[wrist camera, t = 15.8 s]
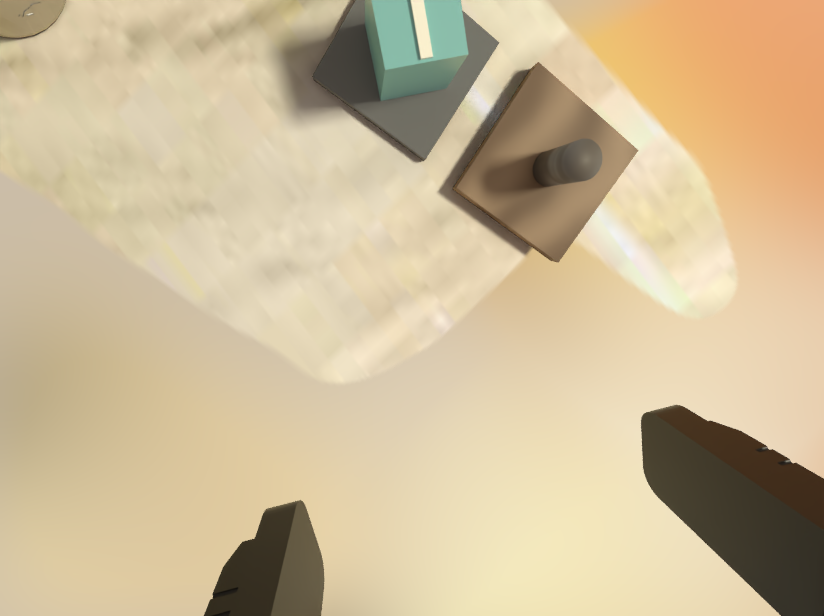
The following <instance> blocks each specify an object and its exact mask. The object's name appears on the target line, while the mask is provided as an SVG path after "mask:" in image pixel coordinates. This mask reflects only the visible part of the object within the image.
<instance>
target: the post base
mask: <svg viewBox="0 0 824 616" xmlns="http://www.w3.org/2000/svg"><path fill="white" fill-rule="evenodd" d="M637 152H638V150H637V149H636V148H635V147H634V146H633V145H632V144H631V143H629V142H628V141H627V140H626V139H625V138H624V137H623V136H622V135H620V134H619V133H618V132H617V131H616V130H615V129H614V128H612V127H611V126H610V125H609V124H608V123H607V122H606V121H605V120H603V119H602V118H601V117H600V116H599V115H598V114H597V113H596V112H594V111H593V110H592V109H591V108H590V107H589V106H588V105H586V104H585V103H584V102H583V101H582V100H581V99H580V98H579V97H577V96H576V95H575V94H574V93H573V92H572V91H571V90H569V89H568V88H567V87H566V86H565V85H564V84H563V83H562V82H560V81H559V80H558V79H557V78H556V77H555V76H554V75H553V74H551V73H550V72H549V71H548V70H547V69H546V68H545V67H543V66H542V65H541V64H540V63H539V62H538V63H537V64H535V65H534V66H533V67H532V68H531V69H530V71H529V72H528V74H527V75H526V77H525V78H524V80H523V81H522V83H521V84H520V86H519V87H518V89H517V91H516V92H515V94H514V95H513V97H512V98H511V100H510V101H509V103H508V104H507V106H506V107H505V109H504V111H503V112H502V114H501V115H500V117H499V118H498V120H497V121H496V123H495V124H494V126H493V127H492V129H491V130H490V132H489V134H488V135H487V137H486V138H485V140H484V141H483V143H482V144H481V146H480V147H479V149H478V150H477V152H476V154H475V155H474V157H473V158H472V160H471V161H470V163H469V164H468V166H467V167H466V169H465V170H464V172H463V174H462V175H461V177H460V178H459V180H458V181H457V183H456V184H455V186H454V187H453V190H455V191H456V192H457V193H459V194H460V195H462V196H463V197H464V198H466V199H467V200H468V201H470V202H471V203H472V204H474V205H475V206H477V207H478V208H479V209H481V210H482V211H483V212H485V213H486V214H488V215H489V216H490V217H492V218H493V219H494V220H496V221H497V222H498V223H500V224H501V225H503V226H504V227H505V228H507V229H508V230H509V231H511V232H512V233H514V234H515V235H516V236H518V237H519V238H520V239H522V240H523V241H524V242H526V243H527V244H529V245H530V246H531V247H533V248H534V249H536V250H537V251H539V252H540V253H541V254H542V255H544V256H545V257H547V258H548V259H549V260H551V261H555V262H559V261H560V259H561V258H562V257H563V255H564V254H565V252H566V251H567V249H568V248H569V247H570V245H571V244H572V243H573V241H574V240H575V238H576V237H577V236H578V234H579V233H580V231H581V230H582V229H583V227H584V226H585V224H586V223H587V222H588V220H589V219H590V217H591V216H592V215H593V213H594V212H595V210H596V209H597V208H598V206H599V205H600V203H601V202H602V201H603V199H604V198H605V196H606V195H607V194H608V192H609V191H610V189H611V188H612V187H613V185H614V184H615V182H616V181H617V180H618V178H619V177H620V175H621V174H622V173H623V171H624V170H625V168H626V167H627V166H628V164H629V163H630V161H631V160H632V159H633V157H634V156H635V154H636V153H637Z"/></svg>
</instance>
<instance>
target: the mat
mask: <svg viewBox="0 0 824 616" xmlns="http://www.w3.org/2000/svg"><path fill="white" fill-rule="evenodd" d="M462 13H463V20H464V27H465V34H466V41H467V48H468V56H467V57H466V59H465V60H464V62H463V64H462V65H461V67H460V68H459V70H458V71H457V73H456V74H455V76H454V77H453V79H452V80H451V82H450V83H449V85H448V87H447V88H446V89H441V90H436V91H430V92H425V93H420V94H415V95H410V96H404V97H399V98H394V99H389V100H384V101H380V96H379V91H378V86H377V81H376V76H375V71H374V66H373V61H372V56H371V52H370V47H369V42H368V37H367V32H366V27H365V0H355V2H354V4H353V6H352V7H351V9H350V11H349V13H348V14H347V16H346V18H345V20H344V22H343V23H342V25H341V27H340V29H339V30H338V32H337V34H336V36H335V37H334V39H333V41H332V43H331V44H330V46H329V48H328V50H327V51H326V53H325V55H324V57H323V59H322V60H321V62H320V64H319V66H318V67H317V69H316V71H315V73H314V74H313V76H312V77H313V79H314V80H315V81H316V82H317V83H319V84H320V85H322V86H323V87H324V88H326V89H327V90H328V91H330V92H331V93H332V94H334V95H335V96H336V97H338V98H339V99H341V100H342V101H343V102H345V103H346V104H347V105H349V106H350V107H351V108H353V109H354V110H355V111H357V112H358V113H360V114H361V115H362V116H364V117H365V118H366V119H368V120H369V121H370V122H372V123H373V124H375V125H376V126H377V127H379V128H380V129H381V130H383V131H384V132H385V133H387V134H388V135H389V136H391V137H392V138H394V139H395V140H396V141H398V142H399V143H400V144H402V145H403V146H404V147H406V148H407V149H409V150H410V151H411V152H413V153H414V154H415V155H417V156H418V157H419V158H421V159H422V160H423V161H424V160H425V159H426V158H427V156H428V155H429V153H430V151H431V150H432V148H433V147H434V145H435V144H436V142H437V140H438V139H439V137H440V136H441V134H442V132H443V131H444V129H445V128H446V126H447V125H448V123H449V121H450V120H451V118H452V117H453V115H454V113H455V112H456V110H457V109H458V107H459V106H460V104H461V102H462V101H463V99H464V98H465V96H466V94H467V93H468V91H469V90H470V88H471V87H472V85H473V83H474V82H475V80H476V79H477V77H478V75H479V74H480V72H481V71H482V69H483V68H484V66H485V64H486V63H487V61H488V60H489V58H490V56H491V55H492V53H493V52H494V50H495V49H496V47H497V45H498V44H499V42H498V41H497V40H496V39H494V38H493V37H492V36H491V35H490V34H489V33H488V32H486V31H485V30H484V29H483V28H482V27H481V26H479V25H478V24H477V23H476V22H475V21H474V20H473V19H471V18H470V17H469V16H468V15H467V14H466V13H465V12H463V11H462Z"/></svg>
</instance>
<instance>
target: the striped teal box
mask: <svg viewBox="0 0 824 616" xmlns="http://www.w3.org/2000/svg"><path fill="white" fill-rule="evenodd" d="M365 27H366V32H367V37H368V42H369V47H370V52H371V56H372V61H373V66H374V71H375V76H376V81H377V86H378V91H379V96H380V101H384V100H389V99H394V98H399V97H404V96H410V95H415V94H420V93H425V92H430V91H436V90H441V89H446V88H447V87H448V85H449V83H450V82H451V80H452V79H453V77H454V76H455V74H456V73H457V71H458V70H459V68H460V67H461V65H462V64H463V62H464V60H465V59H466V57H467V56H468V48H467V41H466V34H465V27H464V20H463V13H462V6H461V0H365Z"/></svg>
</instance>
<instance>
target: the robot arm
mask: <svg viewBox="0 0 824 616" xmlns="http://www.w3.org/2000/svg"><path fill="white" fill-rule="evenodd" d="M65 1H66V0H0V36H3V37H13V38H22V37H27V36H31V35H35V34H37V33H39V32H41V31H43V30H45V29H47V28H48V27H49V26H50V25H51V24H52V23H53V22H54V21H56V19H57V18H58V16H59V15H60V13H61V11H62V10H63V8H64V5H65ZM641 429H642V430H641V431H642V451H643V469H644V474H645V477H646V479H647V482H648V484H649V485H650V487H651V489H652V490H653V492H654V493H655V494H656V495H657V496H658V498H660V500H661V501H663V502H664V503H665V504H666V505H667V506H668V507H669V508H670V509H671V510H672V511H673V512H674V513H675V514H676V515H677V516H678V517H679V518H680V519H681V520H682V521H684V523H685V524H687V526H689V527H690V528H691V529H692V530H693V531H694V532H695V533H696V534H697V535H698V536H699V537H700V538H701V539H702V540H703V541H704V542H705V543H706V544H707V545H708V546H709V547H710V548H711V549H713V551H715V552H716V553H717V554H718V555H719V556H720V557H721V558H722V559H723V560H724V561H725V562H726V563H727V564H728V565H729V566H730V567H731V568H732V569H733V570H734V571H735V572H736V573H738V574H739V575H740V576H741V577H742V578H743V579H744V580H745V581H746V582H747V583H748V584H749V585H750V586H751V587H752V588H753V589H754V590H755V591H756V592H757V593H758V594H759V595H760V596H761V597H762V598H763V599H764V600H766V601H767V602H768V603H769V604H770V605H771V606H772V607H773V608H774V609H775V610H776V611H777V612H778V613H779V614H780V615H781V616H824V479H823V478H821V477H820V476H818V475H816V474H815V473H813V472H811V471H809V470H807V469H806V468H804V467H802V466H801V465H799V464H797V463H792V462H791V461H790V459H788V458H787V457H785V456H783V455H781V454H780V453H778V452H776V451H775V450H773V449H772V450H769V449H768V448H767V446H766V445H764V444H762V443H761V442H759V441H757V440H755V439H754V438H752V437H750V436H748V435H747V434H745V433H743V432H742V431H739V430H736V429H733V428H730V427H727V426H725V425H722V424H719V423H716V422H713V421H707V420H705V419H703V418H701V417H700V416H698V415H697V414H695V413H693V412H691V411H690V410H688V409H687V408H685V407H683V406H680V405H674V406H670V407H666V408H663V409H658V410H654V411H651V412H646V413H645V414H643V416H642V420H641ZM323 590H324V568H323V560H322V556H321V552H320V549H319V546H318V543H317V540H316V537H315V534H314V531H313V528H312V525H311V521H310V518H309V515H308V513H307V509H306V507H305V505H304V503H303V501H301V500H300V501H295V502H292V503H288V504H284V505H280V506H276V507H272V508H268V509H266V510H265V512H264V513H263V516H262V519H261V522H260V525H259V528H258V531H257V534H256V537H255V539H252V540H248V541H244V542H242V543H241V544H240V546H239V547H238V548H237V550H236V551H235V552H234V554H233V555H232V556H231V558H230V559H229V560H228V561H227V563H226V564H225V566H224V567H223V569H222V572H221V574H220V577H219V579H218V582H217V584H216V587H215V589H214V592H213V599H211V600H210V602H209V604H208V607H207V609H206V612H205V614H204V616H321V610H322V601H323Z"/></svg>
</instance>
